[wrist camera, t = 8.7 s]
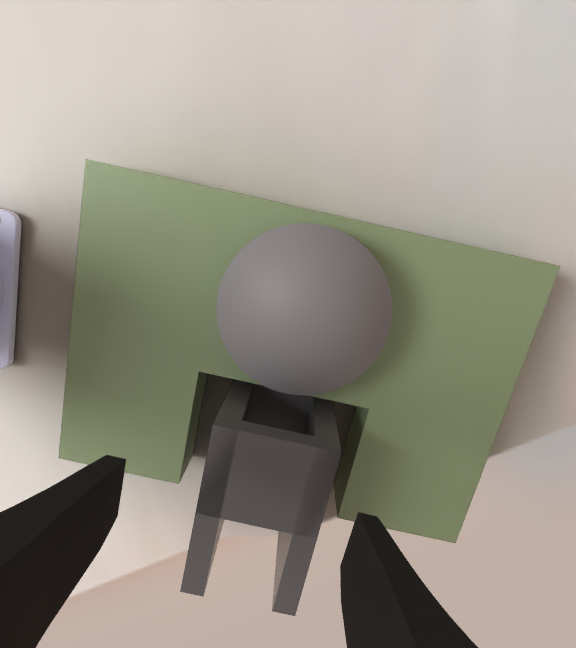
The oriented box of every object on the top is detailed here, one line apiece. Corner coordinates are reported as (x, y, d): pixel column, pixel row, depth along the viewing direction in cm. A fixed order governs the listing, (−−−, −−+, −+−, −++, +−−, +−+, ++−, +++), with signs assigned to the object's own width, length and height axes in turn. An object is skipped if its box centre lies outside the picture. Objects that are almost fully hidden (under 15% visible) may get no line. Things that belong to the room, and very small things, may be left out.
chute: (211, 499, 23) (180, 591, 17) (237, 369, 21) (212, 424, 15) (297, 517, 23) (295, 616, 17) (330, 390, 21) (341, 452, 15)
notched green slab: (85, 432, 22) (39, 476, 18) (113, 167, 19) (64, 152, 15) (438, 508, 23) (467, 567, 19) (527, 261, 19) (584, 269, 15)
